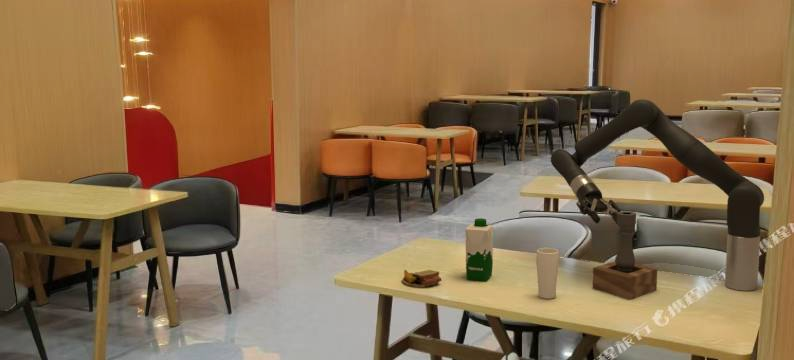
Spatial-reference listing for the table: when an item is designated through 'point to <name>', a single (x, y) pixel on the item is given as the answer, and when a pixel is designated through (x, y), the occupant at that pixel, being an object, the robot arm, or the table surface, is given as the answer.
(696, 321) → the table surface
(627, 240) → the candle holder
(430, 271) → the toy sandwich meal
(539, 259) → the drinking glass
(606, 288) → the bore block
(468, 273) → the milk carton
